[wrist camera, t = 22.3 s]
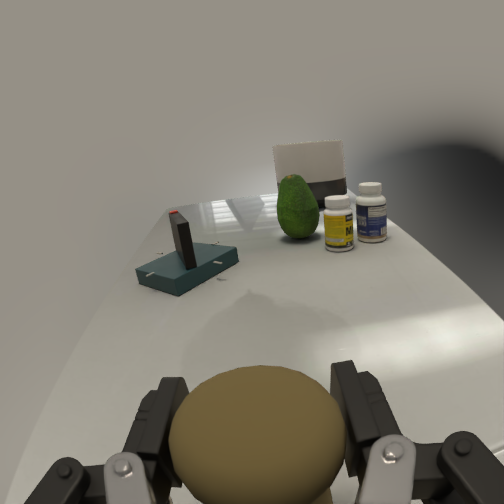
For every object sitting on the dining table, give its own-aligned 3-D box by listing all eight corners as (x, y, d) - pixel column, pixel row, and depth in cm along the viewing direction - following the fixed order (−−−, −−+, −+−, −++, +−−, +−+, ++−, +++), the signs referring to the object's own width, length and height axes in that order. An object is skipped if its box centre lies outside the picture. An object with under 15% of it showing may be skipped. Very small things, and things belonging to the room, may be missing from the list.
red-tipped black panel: (197, 267, 42) (188, 219, 40) (186, 269, 41) (176, 222, 39) (184, 247, 52) (177, 209, 50) (176, 249, 51) (168, 211, 49)
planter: (347, 197, 90) (342, 140, 84) (347, 210, 73) (341, 139, 67) (287, 200, 96) (280, 145, 91) (272, 214, 79) (264, 146, 74)
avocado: (276, 235, 60) (268, 175, 56) (313, 229, 61) (308, 170, 57) (285, 247, 53) (277, 178, 49) (327, 240, 53) (322, 173, 49)
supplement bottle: (351, 253, 46) (348, 199, 43) (322, 251, 48) (318, 200, 46) (355, 243, 50) (353, 194, 47) (329, 242, 52) (326, 194, 50)
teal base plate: (185, 304, 37) (180, 284, 36) (125, 283, 46) (121, 268, 46) (255, 261, 48) (253, 245, 48) (191, 252, 58) (188, 238, 57)
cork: (272, 468, 15) (246, 320, 11) (358, 511, 11) (404, 373, 7) (198, 529, 11) (103, 407, 7) (285, 590, 7) (257, 558, 3)
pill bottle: (353, 235, 54) (350, 183, 51) (380, 232, 54) (378, 180, 50) (362, 244, 49) (360, 186, 46) (391, 241, 48) (390, 184, 45)
